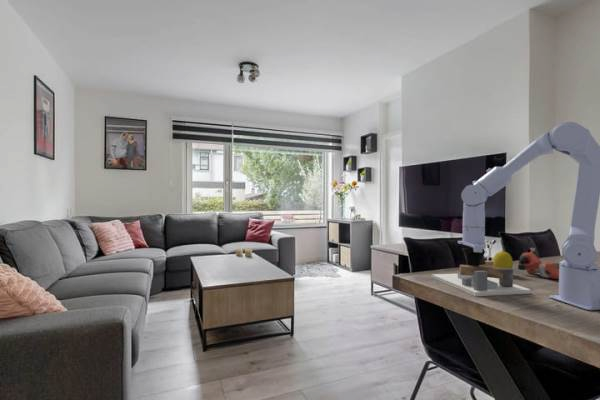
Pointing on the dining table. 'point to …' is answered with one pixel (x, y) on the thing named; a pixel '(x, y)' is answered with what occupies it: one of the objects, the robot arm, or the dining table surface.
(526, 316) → the dining table surface
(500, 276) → the latch bar
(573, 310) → the dining table surface
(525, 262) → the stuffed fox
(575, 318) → the dining table surface
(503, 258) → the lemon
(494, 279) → the latch frame
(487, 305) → the dining table surface
